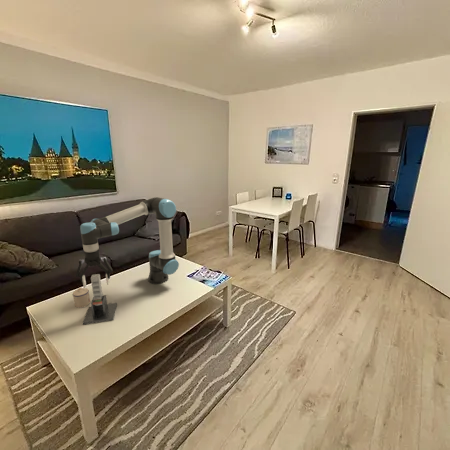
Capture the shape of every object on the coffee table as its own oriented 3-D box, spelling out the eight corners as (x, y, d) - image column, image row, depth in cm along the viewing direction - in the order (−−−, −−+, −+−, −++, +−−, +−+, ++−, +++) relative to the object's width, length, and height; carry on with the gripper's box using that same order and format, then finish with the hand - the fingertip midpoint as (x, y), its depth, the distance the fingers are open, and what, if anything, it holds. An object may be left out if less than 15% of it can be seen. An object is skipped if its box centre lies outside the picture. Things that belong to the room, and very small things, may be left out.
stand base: (89, 308, 155) (86, 293, 152) (116, 304, 160) (114, 290, 157) (82, 325, 140) (80, 308, 138) (113, 320, 145) (111, 304, 142)
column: (96, 301, 149) (92, 274, 144) (103, 300, 150) (99, 273, 146) (94, 306, 145) (90, 278, 140) (102, 305, 146) (98, 277, 141)
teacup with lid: (93, 303, 161) (90, 287, 158) (78, 310, 154) (75, 293, 151) (85, 297, 168) (82, 281, 165) (70, 303, 161) (67, 287, 158)
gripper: (65, 254, 132) (71, 291, 138) (113, 250, 139) (117, 285, 145) (69, 249, 139) (75, 284, 145) (115, 245, 146) (119, 279, 151)
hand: (96, 285), depth 145 cm, fingers open, 11 cm apart
